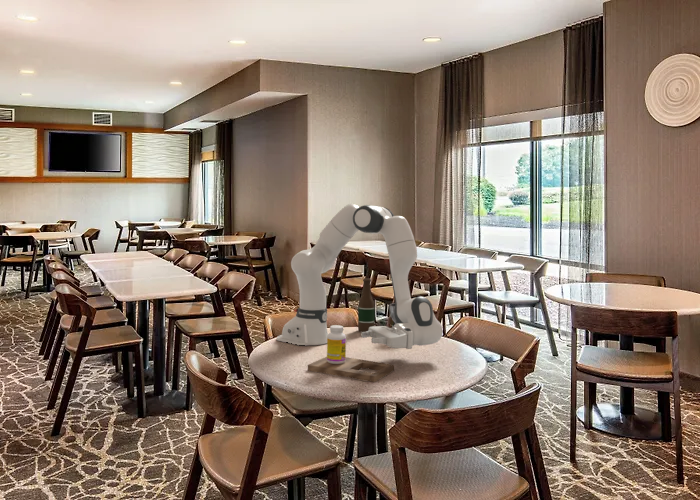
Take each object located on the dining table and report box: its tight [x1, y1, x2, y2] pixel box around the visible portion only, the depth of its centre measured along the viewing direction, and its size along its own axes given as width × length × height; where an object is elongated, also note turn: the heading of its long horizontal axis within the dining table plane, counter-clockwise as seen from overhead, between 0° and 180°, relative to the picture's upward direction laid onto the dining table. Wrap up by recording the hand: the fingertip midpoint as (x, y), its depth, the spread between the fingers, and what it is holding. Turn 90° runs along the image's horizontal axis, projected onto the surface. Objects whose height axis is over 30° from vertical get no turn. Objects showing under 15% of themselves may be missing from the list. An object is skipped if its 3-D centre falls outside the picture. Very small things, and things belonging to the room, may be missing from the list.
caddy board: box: [307, 356, 396, 383], centre depth 213 cm, size 26×16×2 cm, turn 62°
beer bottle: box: [357, 277, 376, 333], centre depth 275 cm, size 8×8×24 cm
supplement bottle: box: [326, 324, 347, 364], centre depth 215 cm, size 7×7×13 cm
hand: (366, 337), depth 219 cm, fingers open, 8 cm apart
